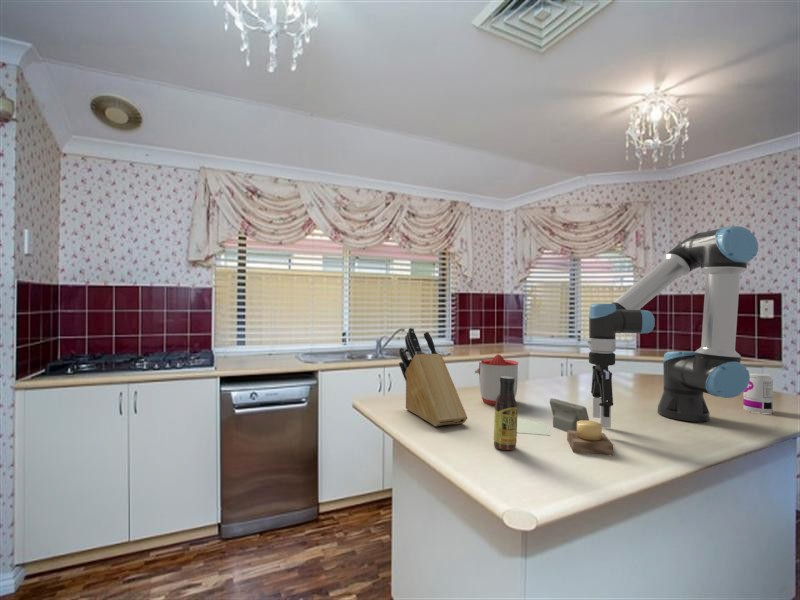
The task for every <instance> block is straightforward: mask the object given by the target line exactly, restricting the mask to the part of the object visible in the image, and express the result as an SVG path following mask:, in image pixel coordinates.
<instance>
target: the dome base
mask: <svg viewBox="0 0 800 600" xmlns="http://www.w3.org/2000/svg"><path fill="white" fill-rule="evenodd" d="M566 441H567V442H568V445H569V447H570V449H571V451H572V452H573V453H574V454H575V453H577V454H586V455H587V454H590V455H599V456H609V455H611V456H612V457H613V456H614V444H613V442H612V441H611V440H610V439H609V438H608V437H607V435H606V434H605V433H604V432H602V439H600V440H583V438H580V437H578V436H577V431H571V430H567V432H566Z"/></svg>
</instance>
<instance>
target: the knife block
mask: <svg viewBox="0 0 800 600" xmlns="http://www.w3.org/2000/svg"><path fill="white" fill-rule="evenodd" d="M423 337H424V339H425V341H426V343H427V346H428V348H429V350H430V352H431V353H425V352H422V348H421V346H420V342H419V339H418V337H417V334H416V333H415V328H413V327H409V328H408V332H407V333H406V335H405V336H404V343H405V346H406V349H404V348H403V347H400V348H399V349H398V350H399V351H398V354H399V357H400V359H401V361H400V362H399V363H398V365H399V368H400V370H401V373H402V375H403V376H402V377H403V378H404V380H405V409H406V410H407V411H409V412H411V413H413V414H415V415H417V416H418V417H420V418H421V419H423V420H424V421H426V422H428V423H430V424H431V425H432V426H433V427H439V426H446V425H447V426H449V425H460V424H464V423H465V422H466V421H467V420H468V415H467V413H466V410H465V409H464V406H463V403H462V401H461V399H460V395H459V394H458V391H457V389H456V386H455V383H454V382H453V379H452V376H451V375H450V372H449V369H448V368H447V365H446V363H445V361H444V360H445V359H444V358H443V356H442V354H441V353H438V352H437V351H436V348H435V343H434V340H433V338H432V336H431V334H430V332H428V331H426V332H424V333H423ZM406 353H409V356H410V357H411V358H408V356H407V354H406Z"/></svg>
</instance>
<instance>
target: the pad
mask: <svg viewBox="0 0 800 600" xmlns="http://www.w3.org/2000/svg"><path fill="white" fill-rule="evenodd" d="M517 434H524V435H538V436H548V437H549V436H550V437H551V434H550V431H549V429H548V426H547V423H544V422H540V421H534V420H529V419H524V418H520V417H517Z"/></svg>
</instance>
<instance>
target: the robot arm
mask: <svg viewBox="0 0 800 600" xmlns="http://www.w3.org/2000/svg"><path fill="white" fill-rule="evenodd" d="M758 252H759V243H758V239H757V237H756V236H755V234H754V233H752V232H751V230H749V229H748V228H746V227H743V226H740V225H735V226H723V227H721V228H717V229H712V230H707V231H702V232H698V233H695V234H693V235H690V236H689V237H687V238H685V239H684V240H682V241H681V242H680V243H678V244H677V245H675V246H674V248H672V249H670V250H669V252H667V253H666V254H664V256H663V258H662V259H663V260H661V262H659V263H658V264H657V265H656V266H655V267H654V268H652V269H651V270H650V271H649V272H648V273H646V274H645V275H644V276H643V277H642V278H640V279H639V280H638V281H636V282H635V284H633V285H632V286H630V288H628V289H627V290H626V291H624V292H623V293H622V294H621V295H620V296H619V297H618V298H617V299H615V300H614V301H612V302H611V303H599V302H598V303H595V302H593V303H592V304H590V305H589V314H588V321H589V322H588V324H589V325H588V326H589V327H588V329H589V330H588V339H589V340H587V342H586V343H587V344H588V350H590V351H589V352H588V363H589V364H591V365H592V378H591V391H590V393H591V396H592V418H596V419H597V418H598V419H600V424H601V425H602V428H611V424H612V423H611V418H612V416H611V414H612V412H611V411H612V407H613V406H614V397H613V382H612V380H613V378H612V377H613V373H612V372H611V371H610V370H609V366H615V364H616V354H615V353H614V352H616V343H617V340H616V334H639V335H642V334H649V333H651V332H652V331H653V330H654V328H655V326H656V325H655V323H656V322H655V321H656V319H655V316H654V315H653V313H652V312H651V311H650V310H645V309H642V308H644V306H645V305H647V304H648V303H649V302H650V301H651V300H653V299H654V298H655V297H656V296H657V295H659V294H661V292H663V291H664V290H665V289H666V288H667V287H668V286H670V285H672V283H674V282H675V281H676V280H677V279H678V278H679V277H681V276H686V275H689V273H690V272H692V271H694V270H695V269H698V268H700V271H701V272H703V273H704V274H705V282H704V283H705V284H704V285H705V286H704V297H703V299H704V301H703V315H702V331H701V346H700V347H699V348H697V349H696V350H695V351H666V352H665V353H664V355H663V361H662V364H663V365H662V367H663V392H662V395H661V398H660V400H659V402H658V405H657V413H658V415H661V416H663V417H666V418H670V419H674V420H679V421H687V422H698V423H699V422H708V421H710V416H711V415H710V410H709V409H708V406H707V405H708V404H707V403H706V400H705V397H704V393H705V394H707V395H708V394H709V395H710V396H714V397H717V398H718V397H719V398H724V399H730V398H731V399H733V398H735V397H738V396H739V395H741V393H743V392H744V391H745V389H746V388H747V386H748V384H749V381H750V375H749V373H750V372H749V370H748V369H747V367H746V366H745V365H744V364H742V363H741V359H742V356H741V354H739V353H738V351H736V340H737V328H738V327H737V326H738V311H739V309H738V308H739V295H740V294H739V293H740V281H741V279H740V277H741V275H742V274H743V273H745V272H746V271H747V267H748V263H749V262H750V261H752V260H753V259H754V257H756V256H757V255H758Z"/></svg>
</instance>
